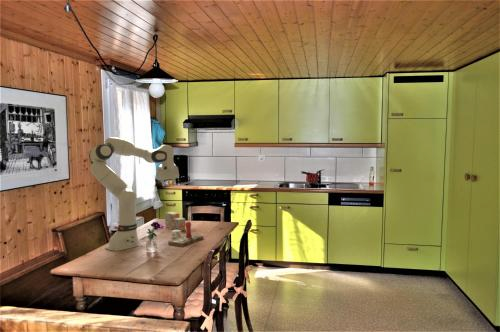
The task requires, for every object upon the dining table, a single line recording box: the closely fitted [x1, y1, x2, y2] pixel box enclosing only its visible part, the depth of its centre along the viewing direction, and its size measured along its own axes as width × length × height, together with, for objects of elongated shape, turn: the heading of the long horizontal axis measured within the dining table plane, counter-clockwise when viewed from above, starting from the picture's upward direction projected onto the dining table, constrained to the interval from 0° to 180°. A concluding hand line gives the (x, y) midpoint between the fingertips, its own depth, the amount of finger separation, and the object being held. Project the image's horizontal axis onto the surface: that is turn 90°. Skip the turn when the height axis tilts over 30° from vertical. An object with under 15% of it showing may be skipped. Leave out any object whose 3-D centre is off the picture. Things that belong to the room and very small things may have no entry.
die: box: [170, 229, 182, 239], centre depth 284 cm, size 5×5×5 cm
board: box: [167, 233, 204, 247], centre depth 273 cm, size 23×12×2 cm, turn 148°
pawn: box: [185, 221, 192, 238], centre depth 274 cm, size 4×4×11 cm
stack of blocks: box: [164, 211, 186, 232], centre depth 311 cm, size 21×6×12 cm, turn 40°
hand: (168, 185), depth 290 cm, fingers open, 8 cm apart
